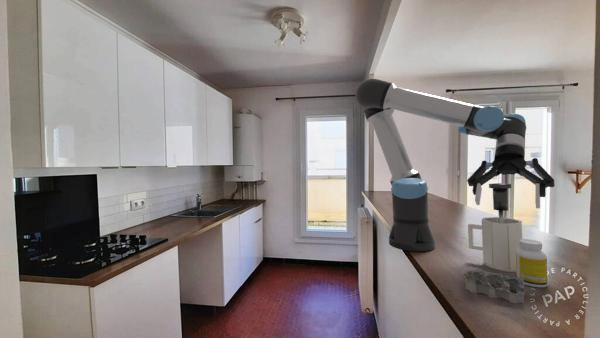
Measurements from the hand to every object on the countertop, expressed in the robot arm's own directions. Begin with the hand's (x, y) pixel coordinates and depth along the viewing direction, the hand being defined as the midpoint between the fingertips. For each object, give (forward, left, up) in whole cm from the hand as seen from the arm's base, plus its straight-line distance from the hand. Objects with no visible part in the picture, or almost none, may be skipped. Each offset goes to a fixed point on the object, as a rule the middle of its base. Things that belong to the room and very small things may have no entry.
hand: (505, 204), depth 73 cm
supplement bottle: (+5, -14, -17) cm, 22 cm away
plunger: (-1, -6, -14) cm, 15 cm away
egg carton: (-1, -23, -17) cm, 29 cm away
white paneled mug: (-2, -6, -16) cm, 17 cm away
